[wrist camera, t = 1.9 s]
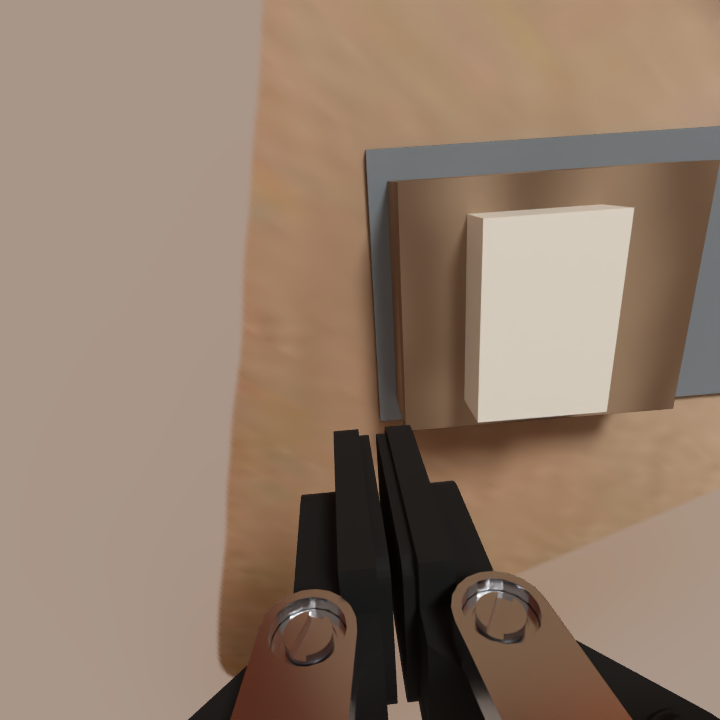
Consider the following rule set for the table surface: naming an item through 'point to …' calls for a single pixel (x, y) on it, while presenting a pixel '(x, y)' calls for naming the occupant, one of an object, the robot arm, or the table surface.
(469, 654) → the robot arm
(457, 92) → the table surface
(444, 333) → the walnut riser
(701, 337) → the rubber mat
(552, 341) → the cream tile
